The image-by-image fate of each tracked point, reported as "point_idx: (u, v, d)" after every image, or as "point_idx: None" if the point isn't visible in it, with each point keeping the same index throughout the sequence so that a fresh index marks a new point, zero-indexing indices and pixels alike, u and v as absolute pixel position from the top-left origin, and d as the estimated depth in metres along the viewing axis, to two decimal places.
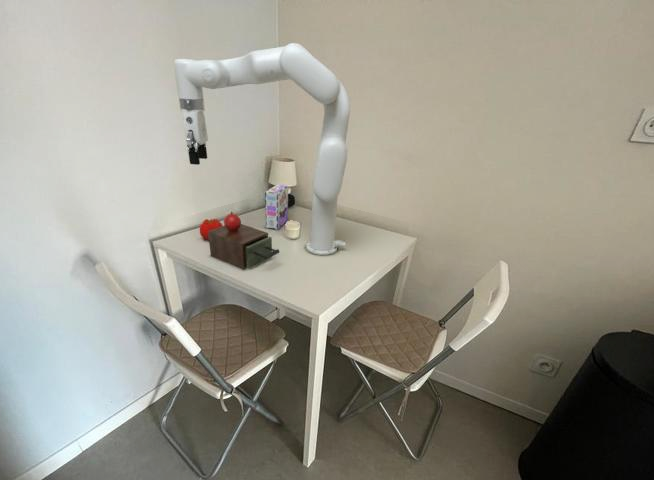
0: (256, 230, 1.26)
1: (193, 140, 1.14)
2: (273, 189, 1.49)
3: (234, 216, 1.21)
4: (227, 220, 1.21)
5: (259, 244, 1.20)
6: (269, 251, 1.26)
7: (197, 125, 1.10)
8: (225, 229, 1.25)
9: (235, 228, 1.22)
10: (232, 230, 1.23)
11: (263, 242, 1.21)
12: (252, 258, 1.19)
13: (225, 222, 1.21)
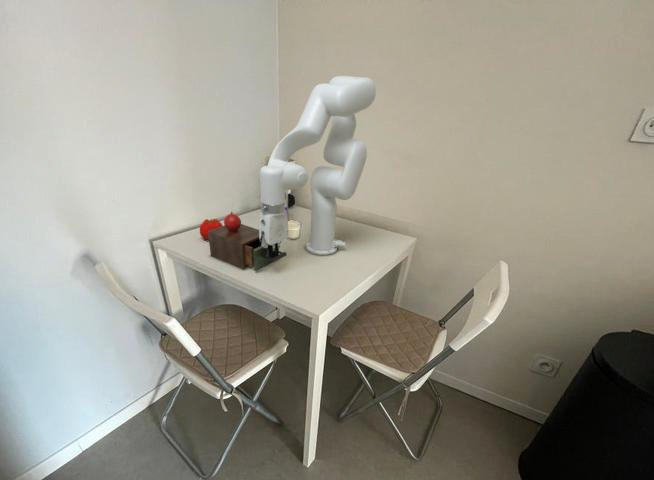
0: (256, 230, 1.26)
1: None
2: None
3: (234, 216, 1.21)
4: (227, 220, 1.21)
5: None
6: None
7: (269, 228, 1.08)
8: (225, 229, 1.25)
9: (235, 228, 1.22)
10: (232, 230, 1.23)
11: None
12: (259, 261, 1.18)
13: (225, 222, 1.21)
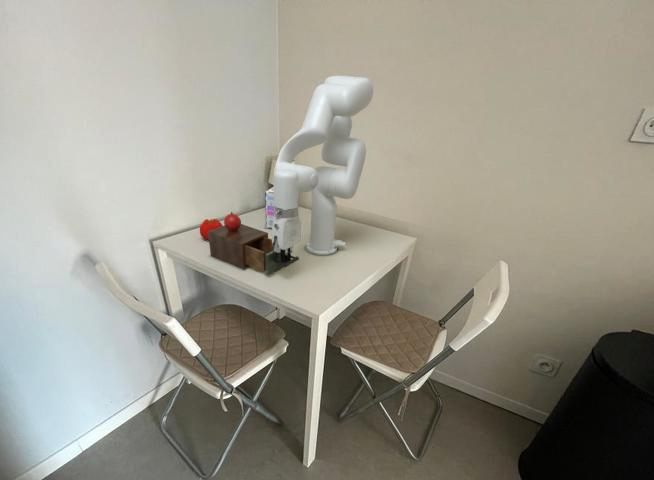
0: (256, 230, 1.26)
1: None
2: (273, 189, 1.49)
3: (234, 216, 1.21)
4: (227, 220, 1.21)
5: None
6: None
7: (282, 233, 1.06)
8: (225, 229, 1.25)
9: (235, 228, 1.22)
10: (232, 230, 1.23)
11: None
12: (271, 266, 1.16)
13: (225, 222, 1.21)
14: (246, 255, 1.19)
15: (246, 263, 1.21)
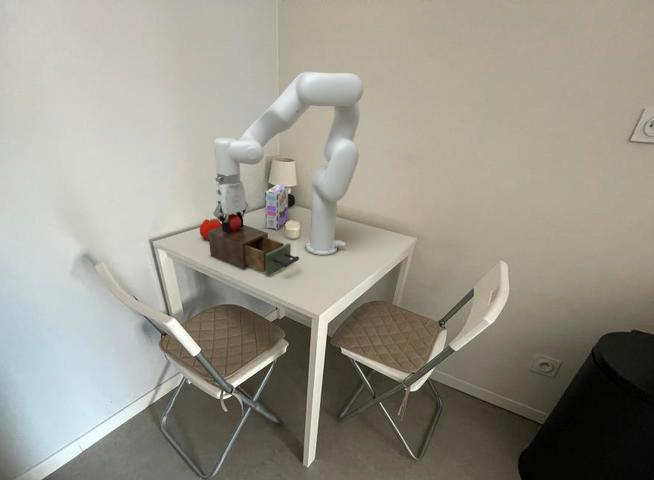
0: (256, 230, 1.26)
1: None
2: (273, 189, 1.49)
3: (234, 216, 1.21)
4: None
5: (278, 251, 1.16)
6: (288, 258, 1.22)
7: (224, 198, 1.14)
8: None
9: (235, 228, 1.22)
10: (232, 230, 1.23)
11: (282, 249, 1.18)
12: (271, 266, 1.16)
13: None
14: (246, 255, 1.19)
15: (246, 263, 1.21)
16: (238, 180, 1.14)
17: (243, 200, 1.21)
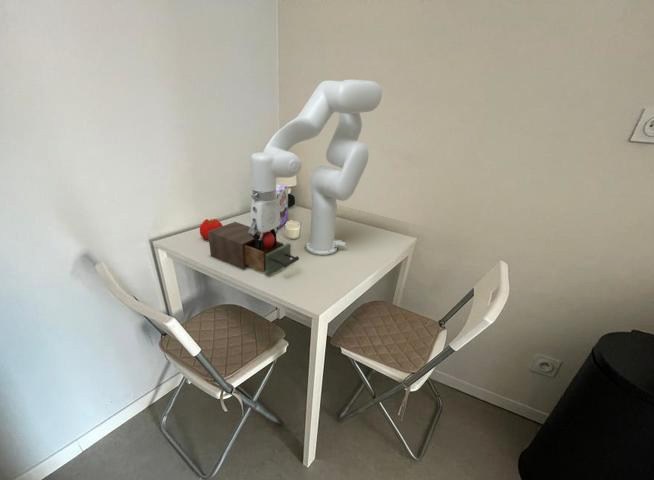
0: None
1: None
2: None
3: (268, 233, 1.16)
4: None
5: (278, 251, 1.16)
6: (288, 258, 1.22)
7: (260, 215, 1.08)
8: (225, 229, 1.25)
9: (269, 246, 1.17)
10: (265, 248, 1.18)
11: (282, 249, 1.18)
12: (271, 266, 1.16)
13: None
14: (246, 255, 1.19)
15: (246, 263, 1.21)
16: (274, 196, 1.09)
17: (278, 216, 1.15)
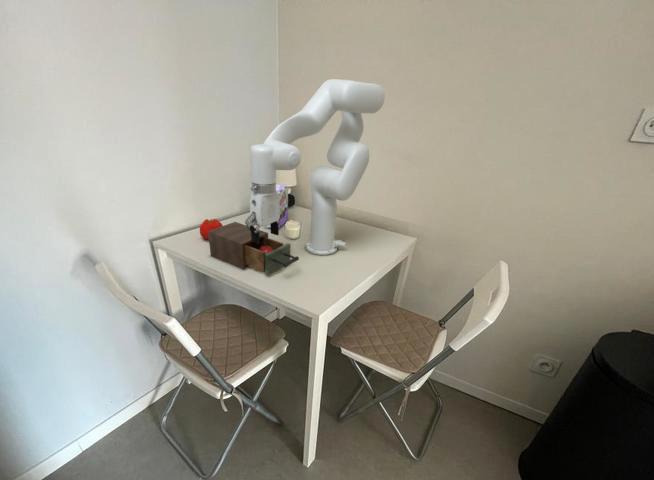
0: None
1: None
2: None
3: (268, 248, 1.19)
4: None
5: (278, 251, 1.16)
6: (287, 258, 1.22)
7: (260, 208, 1.07)
8: (225, 229, 1.25)
9: None
10: None
11: (282, 249, 1.18)
12: (271, 265, 1.16)
13: None
14: (246, 255, 1.19)
15: (246, 263, 1.21)
16: (274, 189, 1.07)
17: (277, 210, 1.14)
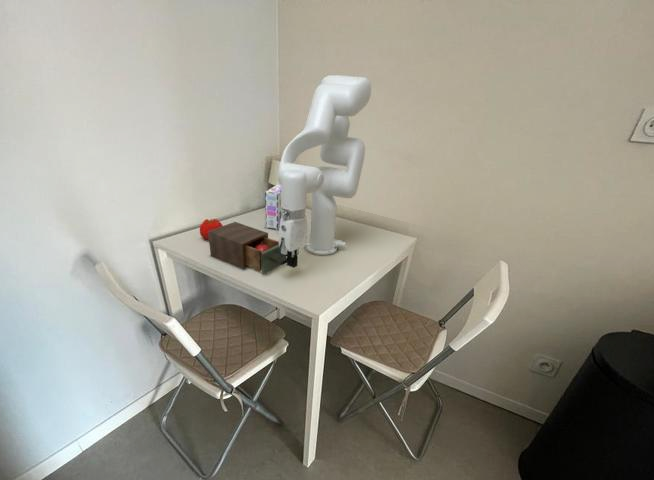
0: (256, 230, 1.26)
1: None
2: (273, 189, 1.49)
3: (264, 247, 1.20)
4: None
5: (274, 250, 1.17)
6: (284, 256, 1.23)
7: (289, 234, 1.05)
8: (225, 229, 1.25)
9: None
10: None
11: (278, 247, 1.18)
12: (267, 264, 1.16)
13: None
14: None
15: None
16: (304, 215, 1.05)
17: (305, 234, 1.11)
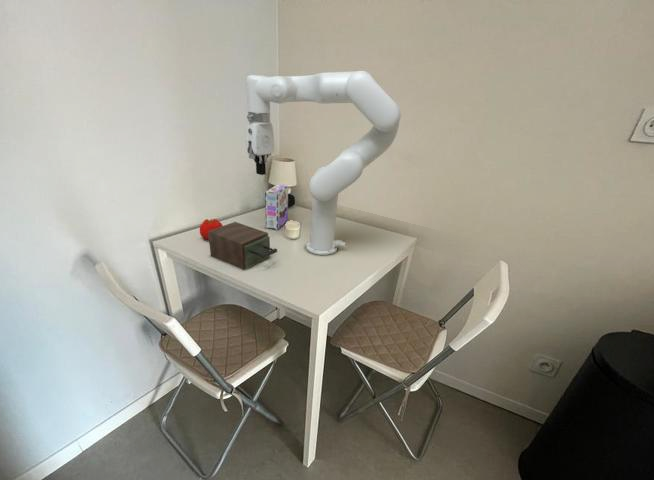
0: (256, 230, 1.26)
1: None
2: (273, 189, 1.49)
3: None
4: None
5: (257, 243, 1.20)
6: (267, 250, 1.26)
7: (255, 137, 1.16)
8: (225, 229, 1.25)
9: None
10: None
11: (261, 241, 1.22)
12: (250, 257, 1.20)
13: None
14: None
15: None
16: (268, 119, 1.16)
17: (272, 142, 1.23)
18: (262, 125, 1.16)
